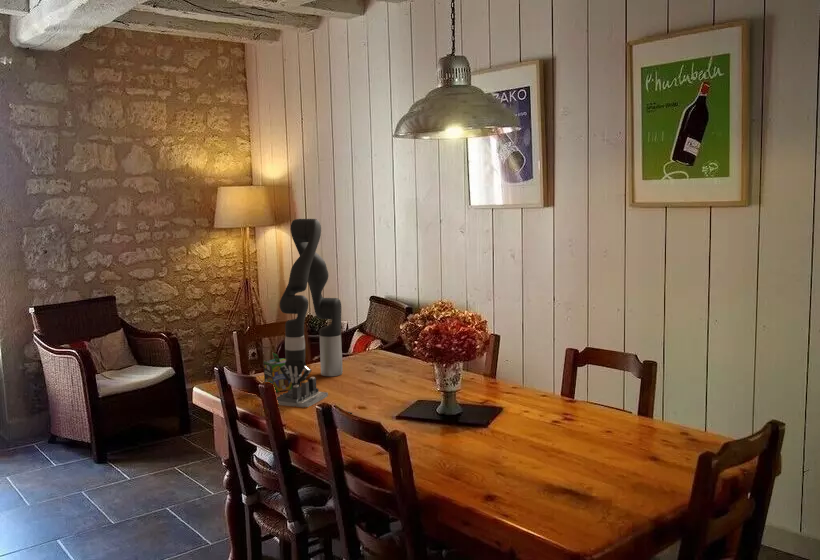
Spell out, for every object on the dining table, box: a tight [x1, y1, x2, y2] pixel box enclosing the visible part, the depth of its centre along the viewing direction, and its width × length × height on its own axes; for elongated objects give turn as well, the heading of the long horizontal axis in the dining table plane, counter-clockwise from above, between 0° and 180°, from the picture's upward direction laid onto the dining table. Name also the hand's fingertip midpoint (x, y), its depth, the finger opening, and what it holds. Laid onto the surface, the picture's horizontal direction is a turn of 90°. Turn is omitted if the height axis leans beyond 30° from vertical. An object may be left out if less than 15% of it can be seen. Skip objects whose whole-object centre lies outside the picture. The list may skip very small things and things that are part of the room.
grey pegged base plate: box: [277, 376, 329, 408], centre depth 282 cm, size 17×15×8 cm
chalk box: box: [262, 352, 292, 393], centre depth 298 cm, size 9×9×15 cm
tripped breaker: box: [300, 379, 309, 397], centre depth 281 cm, size 2×2×6 cm
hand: (296, 391), depth 283 cm, fingers closed
